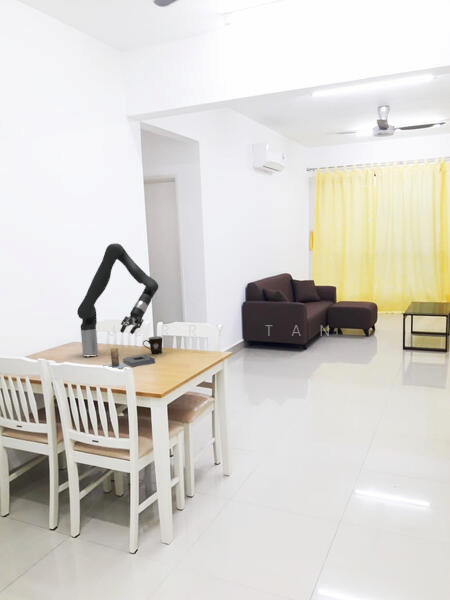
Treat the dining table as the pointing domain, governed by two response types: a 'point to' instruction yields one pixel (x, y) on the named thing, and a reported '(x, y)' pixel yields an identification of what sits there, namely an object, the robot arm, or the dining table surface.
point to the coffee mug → (155, 345)
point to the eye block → (138, 360)
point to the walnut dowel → (114, 357)
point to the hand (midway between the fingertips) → (126, 332)
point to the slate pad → (117, 366)
